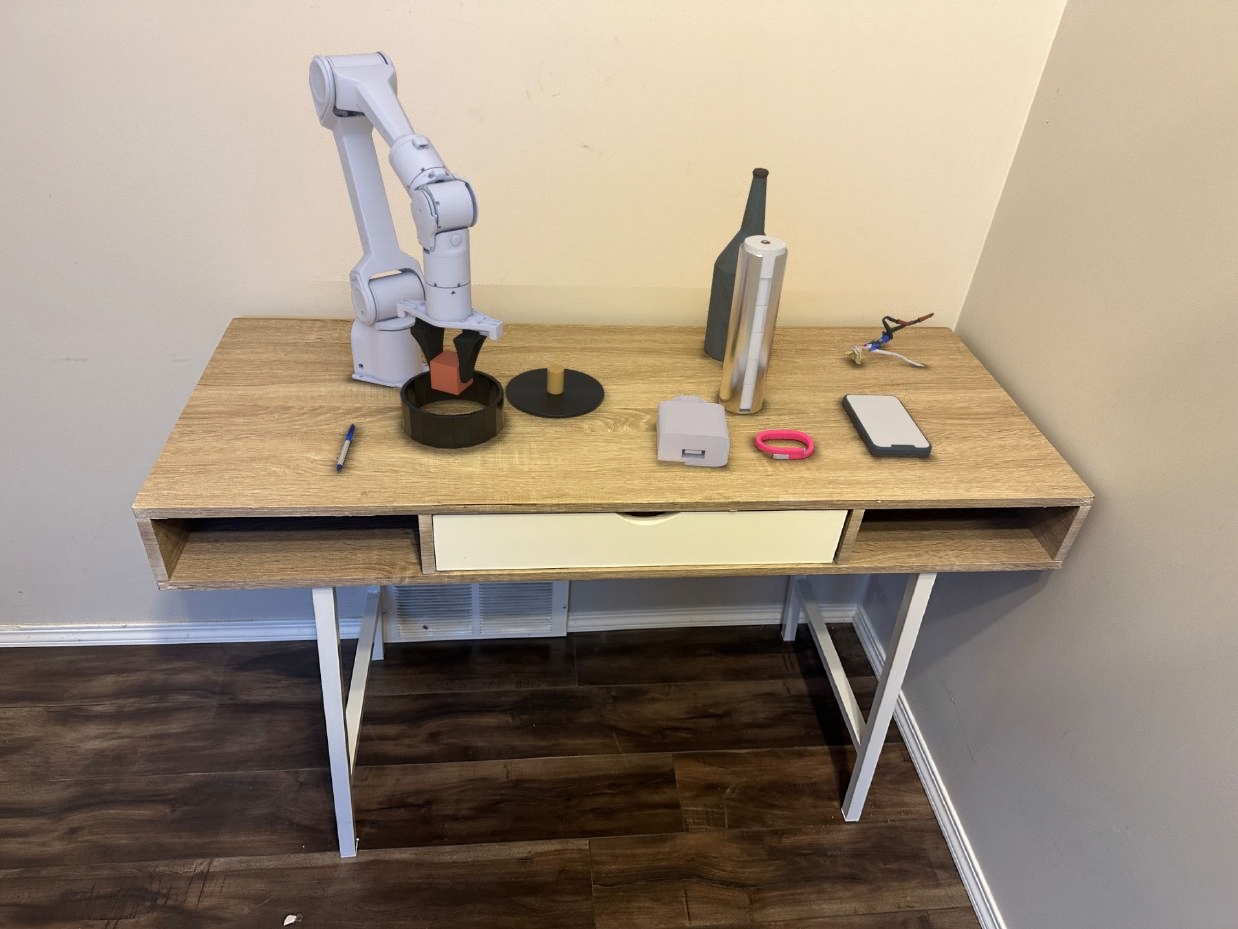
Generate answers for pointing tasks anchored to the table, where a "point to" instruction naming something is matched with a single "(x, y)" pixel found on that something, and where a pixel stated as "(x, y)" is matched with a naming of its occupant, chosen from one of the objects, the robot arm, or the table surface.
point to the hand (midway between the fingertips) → (452, 376)
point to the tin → (452, 427)
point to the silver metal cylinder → (752, 323)
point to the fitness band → (785, 452)
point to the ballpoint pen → (345, 447)
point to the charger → (692, 431)
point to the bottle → (733, 267)
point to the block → (447, 373)
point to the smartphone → (886, 425)
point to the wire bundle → (884, 340)
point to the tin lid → (554, 392)
